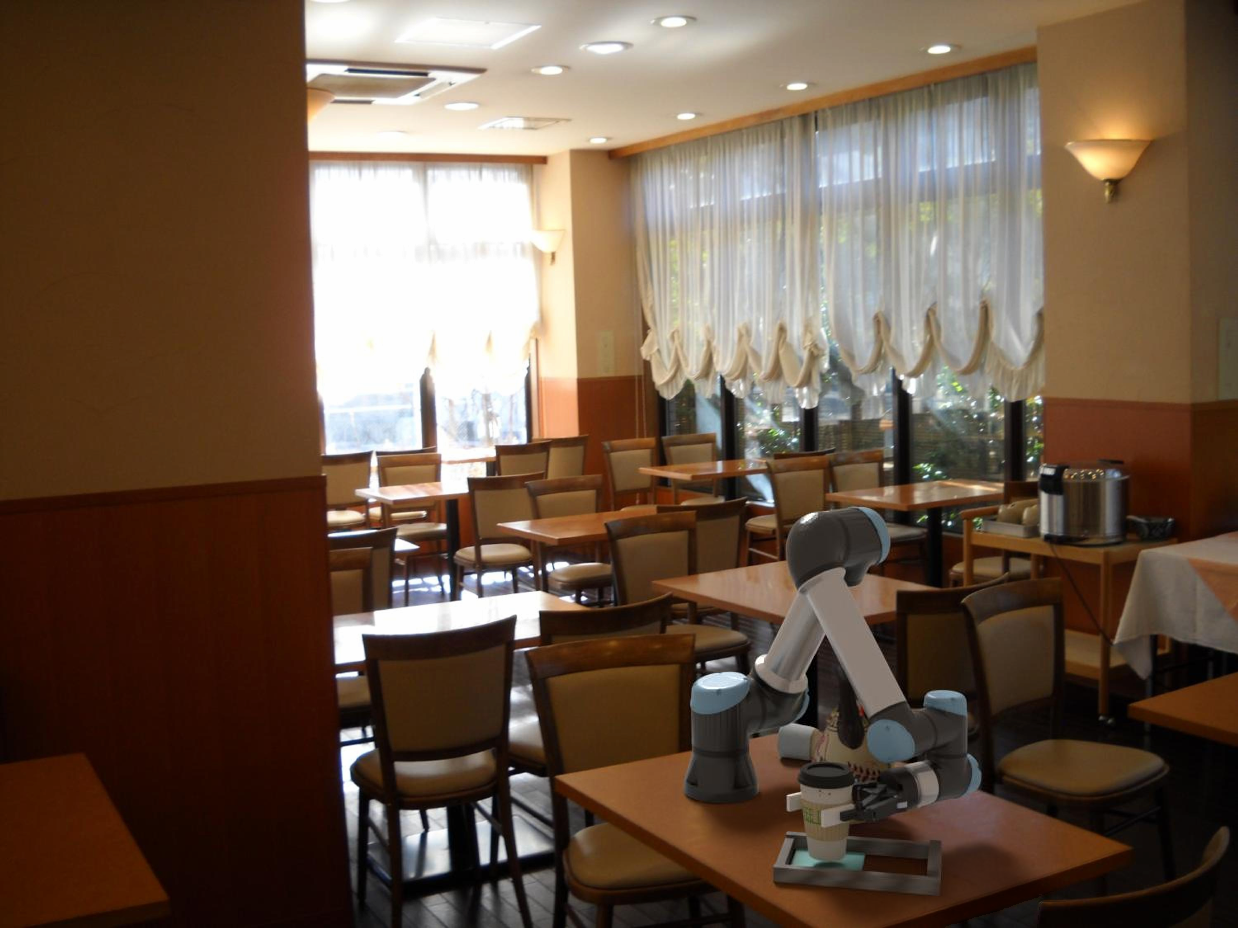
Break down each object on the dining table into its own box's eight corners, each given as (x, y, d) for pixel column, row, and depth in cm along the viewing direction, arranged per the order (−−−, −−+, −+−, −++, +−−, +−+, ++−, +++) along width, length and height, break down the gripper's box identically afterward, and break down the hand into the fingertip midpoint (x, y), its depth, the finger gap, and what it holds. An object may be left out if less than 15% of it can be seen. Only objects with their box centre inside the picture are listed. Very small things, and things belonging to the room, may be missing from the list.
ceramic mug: (812, 765, 278) (812, 729, 278) (776, 760, 282) (776, 726, 282) (826, 752, 288) (826, 718, 288) (791, 748, 292) (791, 714, 291)
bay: (773, 881, 216) (773, 860, 216) (787, 844, 232) (786, 825, 232) (939, 895, 209) (939, 874, 209) (941, 856, 225) (941, 837, 225)
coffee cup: (792, 861, 219) (791, 774, 218) (805, 841, 228) (804, 758, 227) (850, 868, 215) (849, 780, 214) (860, 847, 225) (860, 762, 224)
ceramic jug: (813, 801, 255) (811, 651, 253) (892, 804, 252) (892, 653, 250) (807, 831, 239) (806, 672, 237) (893, 836, 236) (892, 674, 233)
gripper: (949, 825, 221) (846, 852, 210) (866, 791, 240) (767, 814, 228) (949, 782, 221) (845, 807, 209) (865, 751, 239) (767, 772, 228)
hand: (805, 810), depth 219 cm, fingers closed on coffee cup, 9 cm apart
